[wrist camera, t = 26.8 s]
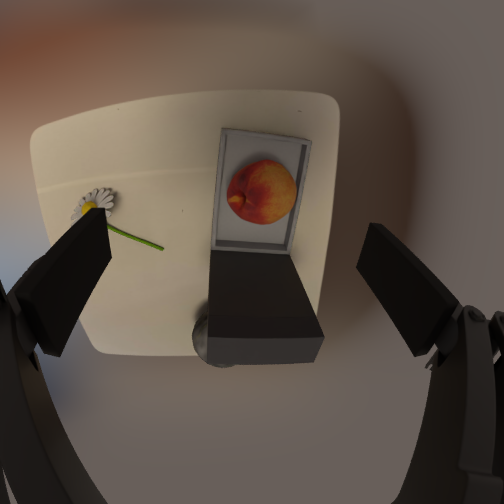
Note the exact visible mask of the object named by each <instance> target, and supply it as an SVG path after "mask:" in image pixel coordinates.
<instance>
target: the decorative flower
mask: <svg viewBox="0 0 504 504" xmlns="http://www.w3.org/2000/svg"><path fill="white" fill-rule="evenodd" d="M103 192H104V188H102V189H101V190H100V191H99V192H98V194H97V196H96V193H97V189H94V190H93V192H92V194H91V196H90V193H88V194H87V195H86V197H85V198H86V202H85V201H84V200H83V199H81V200H80V201H79V204H80V205H81V206H82V207H76V208H75V209H74V211H75V212H78V213H75V214H73V215H72V217H71V220H74V219H76V218H78V219H76V220H75V221H74V222H73V223H72V224H71V227H72V226H73V225H74V224H75V223H76V222H77V221H78V220H79V219H80V218H81V217H82V216H83V215H84V214H85V213H86V212H87V211H88V210H89V209H91V208H97V207H105V209H109V208H111V207H113V205H114V204H113V203H111V202H110V201H111V200H112V199H113V196H112V195H111V196H109V197H107V198H105V197H106V196H107V195H108V194H109V193H110V191H109V190H107V191H105V192H104V193H103ZM104 198H105V199H104ZM103 199H104V200H103ZM108 202H110V203H108ZM110 216H111V212H109V211H106V217H110ZM107 228H108V229H110V230H112V231H114V232H116V233H119V234H121V235H123V236H126V237H128V238H131V239H133V240H136V241H139V242H141V243H144V244H146V245H149V246H151V247H154V248H156V249H159V250H161V251H163V249H164V248H162V247H159V246H157V245H154V244H152V243H149V242H147V241H144V240H142V239H139V238H136V237H134V236H131V235H129V234H126V233H124V232H122V231H119V230H117V229H115V228H113V227H111V226H109V225H107Z"/></svg>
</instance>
